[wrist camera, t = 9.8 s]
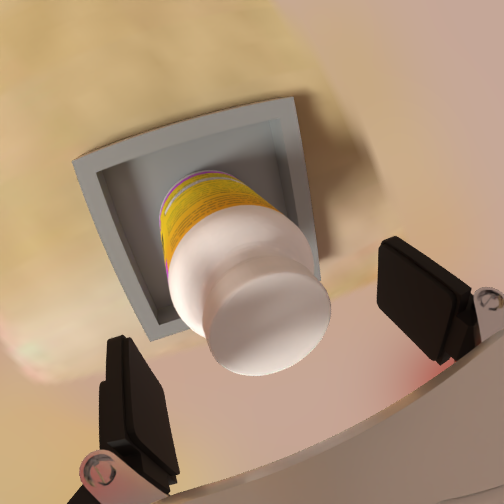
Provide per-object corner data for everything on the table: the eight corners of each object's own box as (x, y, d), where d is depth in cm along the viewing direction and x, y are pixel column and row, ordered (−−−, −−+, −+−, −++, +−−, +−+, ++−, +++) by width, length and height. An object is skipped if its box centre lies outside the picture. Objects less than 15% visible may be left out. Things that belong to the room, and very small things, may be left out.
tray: (80, 155, 18) (71, 161, 16) (278, 97, 21) (293, 96, 18) (148, 322, 25) (150, 341, 23) (307, 266, 27) (321, 280, 25)
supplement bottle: (139, 206, 20) (134, 323, 9) (221, 149, 20) (314, 198, 9) (194, 275, 24) (243, 413, 13) (268, 224, 24) (371, 327, 13)
